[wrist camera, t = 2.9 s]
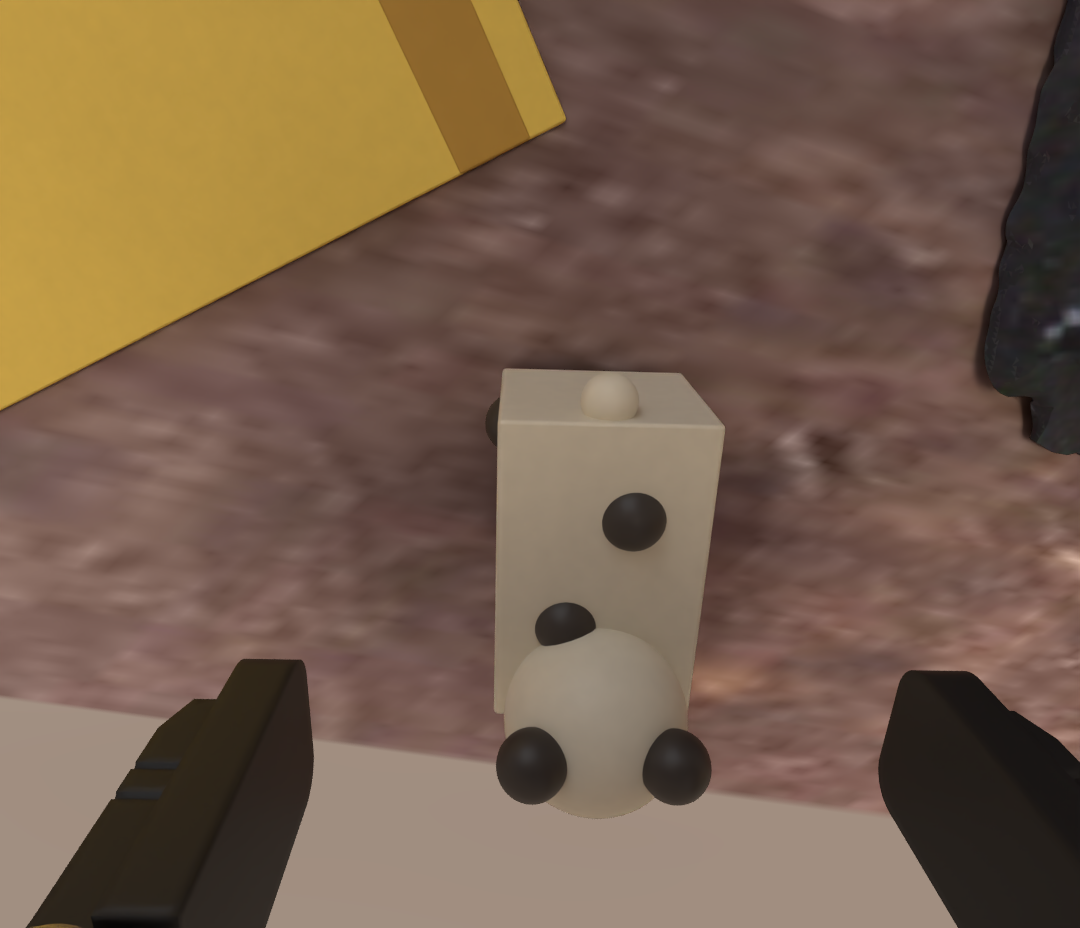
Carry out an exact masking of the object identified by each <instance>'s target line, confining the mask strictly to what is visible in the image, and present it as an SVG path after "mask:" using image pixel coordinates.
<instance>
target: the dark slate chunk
mask: <svg viewBox="0 0 1080 928" xmlns="http://www.w3.org/2000/svg"><path fill="white" fill-rule="evenodd" d="M1006 238H1007V244H1006V248H1005V251H1004V254H1003V257H1002V260H1001V263H1000V267H999V289H998V295H997V299H996V302H995V304H994V306H993V309H992V312H991V316H990V324H989V330H988V334H987V338H986V341H985V365H986V369H987V373H988V376H989V379H990V381H991V383H992V384H993V386H994V388H995V389H996V390H997V391H999V392H1000V393H1001V394H1003V395H1005V396H1008V397H1016V396H1027V397H1032V400H1031V402H1030V403H1031V413H1032V421H1033V428H1032V432H1031V435H1030V437H1029V438H1030V439H1031V440H1033V441H1035V442H1036V443H1038V444H1040V445H1042V446H1043V447H1045V448H1046V449H1048V450H1050V451H1051V452H1054V453H1059V454H1065V455H1069V454H1073V453H1076V452H1077V454H1080V0H1068V2H1067V6H1066V10H1065V13H1064V16H1063V19H1062V22H1061V25H1060V28H1059V31H1058V34H1057V38H1056V42H1055V46H1054V67H1053V69H1052V71H1051V73H1050V74H1049V76H1048V78H1047V80H1046V82H1045V84H1044V86H1043V88H1042V90H1041V95H1040V100H1039V105H1038V112H1037V120H1036V126H1035V130H1034V133H1033V136H1032V139H1031V142H1030V145H1029V149H1028V154H1027V168H1026V174H1025V180H1024V187H1023V190H1022V192H1021V194H1020V196H1019V198H1018V200H1017V202H1016V204H1015V205H1014V207H1013V209H1012V210H1011V212H1010V214H1009V217H1008V220H1007V223H1006Z"/></svg>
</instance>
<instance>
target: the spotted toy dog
mask: <svg viewBox="0 0 1080 928" xmlns="http://www.w3.org/2000/svg"><path fill="white" fill-rule="evenodd" d="M485 425H486V432H487V434H488V437H489V439H490V440H491V442H492V443H493V444H494V445H495V446H496V447H497V513H496V590H495V666H494V711H495V713H498V714H504V727H505V737H506V740H505V741H504V742H503V744H502V745H501V747H500V749H499V752H498V756H497V761H496V771H497V776H498V779H499V782H500V784H501V786H502V788H503V789H504V790H505V792H506V793H507V794H508V795H509V796H510V797H511V798H513V799H514V800H516V801H518V802H521V803H524V804H532V805H533V804H540V803H543V802H547V803H548V804H550V805H551V806H553V807H555V808H557V809H559V810H561V811H563V812H566V813H568V814H571V815H575V816H578V817H583V818H592V819H604V818H612V817H618V816H622V815H625V814H628V813H631V812H633V811H635V810H637V809H640V808H641V807H643V806H644V805H646V804H647V803H649V802H650V801H651V800H652V799H654V798H657V799H658V800H660V801H662V802H664V803H667V804H670V805H685V804H689V803H691V802H694V801H695V800H697V799H698V798H699V797H700V796H701V795H702V794H703V793H704V792H705V790H706V788H707V787H708V785H709V782H710V778H711V771H712V769H711V761H710V757H709V754H708V752H707V750H706V748H705V746H704V745H703V743H702V742H701V741H700V740H699V739H698V738H697V737H696V736H694V735H693V734H691V733H690V732H688V714H687V712H688V706H689V698H690V691H691V683H692V676H693V668H694V661H695V653H696V646H697V638H698V631H699V623H700V616H701V608H702V601H703V593H704V586H705V578H706V571H707V563H708V556H709V548H710V541H711V533H712V526H713V518H714V511H715V503H716V496H717V488H718V481H719V473H720V466H721V458H722V451H723V443H724V436H725V426H724V425H723V423H722V422H721V421H720V420H719V419H718V417H717V416H716V415H715V414H714V413H713V411H712V410H711V409H710V408H709V406H708V405H707V404H706V403H705V402H704V400H703V399H702V398H701V397H700V396H699V394H698V393H697V392H696V391H695V389H694V388H693V387H692V386H691V385H690V383H689V382H688V381H687V380H686V379H685V377H684V376H683V375H682V374H680V373H656V372H619V371H582V370H545V369H508V368H506V369H504V370H503V373H502V384H501V394H500V398H498V399H497V400H496V401H495V402H494V403H493V404H492V405H491V406H490V408H489V410H488V412H487V415H486V421H485Z"/></svg>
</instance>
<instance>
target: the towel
mask: <svg viewBox="0 0 1080 928" xmlns="http://www.w3.org/2000/svg"><path fill="white" fill-rule="evenodd" d="M565 121H566V117H565V114H564V112H563V109H562V107H561V105H560V102H559V100H558V97H557V95H556V92H555V90H554V87H553V85H552V83H551V80H550V78H549V75H548V73H547V70H546V68H545V66H544V63H543V61H542V58H541V56H540V53H539V51H538V49H537V46H536V44H535V41H534V39H533V36H532V34H531V32H530V29H529V27H528V24H527V22H526V19H525V17H524V14H523V12H522V10H521V7H520V5H519V2H518V0H0V411H1V410H3V409H5V408H7V407H9V406H11V405H13V404H15V403H17V402H19V401H21V400H23V399H25V398H27V397H28V396H30V395H32V394H34V393H36V392H38V391H40V390H42V389H44V388H46V387H48V386H50V385H52V384H54V383H56V382H58V381H60V380H62V379H64V378H66V377H68V376H70V375H71V374H73V373H75V372H77V371H79V370H81V369H83V368H85V367H87V366H89V365H91V364H93V363H95V362H97V361H99V360H101V359H103V358H105V357H107V356H109V355H111V354H112V353H114V352H116V351H118V350H120V349H122V348H124V347H126V346H128V345H130V344H132V343H134V342H136V341H138V340H140V339H142V338H144V337H146V336H148V335H150V334H152V333H154V332H155V331H157V330H159V329H161V328H163V327H165V326H167V325H169V324H171V323H173V322H175V321H177V320H179V319H181V318H183V317H185V316H187V315H189V314H191V313H193V312H195V311H197V310H198V309H200V308H202V307H204V306H206V305H208V304H210V303H212V302H214V301H216V300H218V299H220V298H222V297H224V296H226V295H228V294H230V293H232V292H234V291H236V290H238V289H240V288H241V287H243V286H245V285H247V284H249V283H251V282H253V281H255V280H257V279H259V278H261V277H263V276H265V275H267V274H269V273H271V272H273V271H275V270H277V269H279V268H281V267H283V266H284V265H286V264H288V263H290V262H292V261H294V260H296V259H298V258H300V257H302V256H304V255H306V254H308V253H310V252H312V251H314V250H316V249H318V248H320V247H322V246H324V245H326V244H327V243H329V242H331V241H333V240H335V239H337V238H339V237H341V236H343V235H345V234H347V233H349V232H351V231H353V230H355V229H357V228H359V227H361V226H363V225H365V224H367V223H369V222H370V221H372V220H374V219H376V218H378V217H380V216H382V215H384V214H386V213H388V212H390V211H392V210H394V209H396V208H398V207H400V206H402V205H404V204H406V203H408V202H410V201H412V200H413V199H415V198H417V197H419V196H421V195H423V194H425V193H427V192H429V191H431V190H433V189H435V188H437V187H439V186H441V185H443V184H445V183H447V182H449V181H451V180H453V179H455V178H456V177H458V176H460V175H462V174H464V173H466V172H468V171H470V170H472V169H474V168H476V167H478V166H480V165H482V164H484V163H486V162H488V161H490V160H492V159H494V158H496V157H497V156H499V155H501V154H503V153H505V152H507V151H509V150H511V149H513V148H515V147H517V146H519V145H521V144H523V143H525V142H527V141H529V140H531V139H533V138H535V137H537V136H539V135H540V134H542V133H544V132H546V131H548V130H550V129H552V128H554V127H556V126H558V125H560V124H562V123H564V122H565Z"/></svg>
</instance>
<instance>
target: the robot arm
mask: <svg viewBox="0 0 1080 928" xmlns="http://www.w3.org/2000/svg"><path fill="white" fill-rule="evenodd" d="M313 762H314V754H313V741H312V729H311V718H310V707H309V696H308V685H307V675H306V669H305V665H304V663H303V661H302V660H282V659H242V660H241V661H240V662H239V663H238V664H237V665H236V667H235V669H234V670H233V672H232V674H231V675H230V677H229V679H228V681H227V682H226V684H225V686H224V687H223V689H222V691H221V693H220V694H219V696H218V698H217V699H194V700H192V701H191V702H190V703H189V704H187V705H186V706H185V707H184V708H182V709H181V710H180V711H179V712H177V713H176V714H175V715H174V716H172V717H171V718H170V719H169V720H167V721H166V722H165V723H164V724H162V725H161V726H160V727H159V728H158V729H157V730H156V732H155V733H154V735H153V736H152V738H151V739H150V741H149V743H148V744H147V746H146V747H145V749H144V750H143V752H142V753H141V755H140V756H139V758H138V759H137V761H136V766H135V768H134V769H131V770H130V771H129V773H128V774H127V776H126V777H125V779H124V780H123V782H122V784H121V785H120V787H119V788H118V790H117V791H116V797H115V799H111V800H110V802H109V803H108V805H107V806H106V808H105V810H104V811H103V812H102V814H101V815H100V817H99V819H98V820H97V821H96V823H95V824H94V826H93V827H92V829H91V831H90V832H89V834H88V835H87V837H86V838H85V840H84V841H83V843H82V844H81V846H80V847H79V849H78V850H77V852H76V853H75V855H74V856H73V858H72V859H71V861H70V862H69V864H68V865H67V867H66V868H65V870H64V872H63V873H62V875H61V876H60V878H59V879H58V881H57V882H56V884H55V885H54V887H53V888H52V890H51V891H50V893H49V894H48V896H47V898H46V899H45V901H44V902H43V904H42V905H41V906H40V908H39V909H38V911H37V913H36V914H35V916H34V917H33V919H32V920H31V921H30V923H29V924H28V925H27V927H26V928H265V927H266V924H267V921H268V918H269V915H270V912H271V909H272V906H273V903H274V901H275V898H276V895H277V892H278V889H279V886H280V883H281V880H282V877H283V874H284V871H285V868H286V865H287V862H288V859H289V856H290V853H291V850H292V847H293V844H294V841H295V838H296V835H297V832H298V829H299V826H300V823H301V821H302V817H303V815H304V811H305V808H306V806H307V802H308V799H309V794H310V789H311V784H312V776H313ZM878 772H879V783H880V788H881V792H882V796H883V799H884V802H885V804H886V807H887V809H888V810H889V812H890V814H891V816H892V817H893V819H894V821H895V822H896V824H897V826H898V828H899V829H900V831H901V833H902V834H903V836H904V837H905V839H906V841H907V843H908V844H909V846H910V848H911V849H912V851H913V853H914V854H915V856H916V858H917V859H918V861H919V863H920V864H921V866H922V868H923V869H924V871H925V873H926V874H927V876H928V878H929V880H930V881H931V883H932V885H933V886H934V888H935V890H936V891H937V893H938V895H939V896H940V898H941V899H942V901H943V903H944V905H945V906H946V908H947V910H948V912H949V913H950V915H951V916H952V918H953V920H954V922H955V923H956V925H957V927H958V928H1080V762H1079V761H1078V760H1077V759H1076V758H1075V757H1074V756H1073V755H1072V754H1071V753H1070V752H1069V751H1068V750H1067V749H1066V748H1065V747H1064V746H1063V745H1062V744H1061V743H1060V742H1059V741H1058V740H1057V739H1056V738H1055V737H1053V736H1052V735H1050V734H1049V733H1047V732H1046V731H1044V730H1042V729H1041V728H1039V727H1038V726H1036V725H1035V724H1033V723H1032V722H1030V721H1029V720H1027V719H1026V718H1024V717H1023V716H1021V715H1020V714H1018V713H1017V712H1015V711H1009V710H1008V709H1007V708H1006V707H1005V706H1004V705H1003V704H1002V703H1001V702H1000V701H999V700H998V699H997V697H996V696H995V695H994V694H993V693H992V692H991V691H990V690H989V689H988V688H987V687H986V686H985V685H984V684H983V682H982V681H981V680H980V679H979V678H978V677H976V676H975V675H974V674H972V673H970V672H967V671H921V670H911V671H908V672H907V673H905V674H904V675H903V677H902V678H901V680H900V683H899V686H898V690H897V693H896V697H895V701H894V705H893V709H892V713H891V716H890V720H889V724H888V728H887V732H886V735H885V739H884V743H883V747H882V751H881V754H880V759H879V767H878Z"/></svg>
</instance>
